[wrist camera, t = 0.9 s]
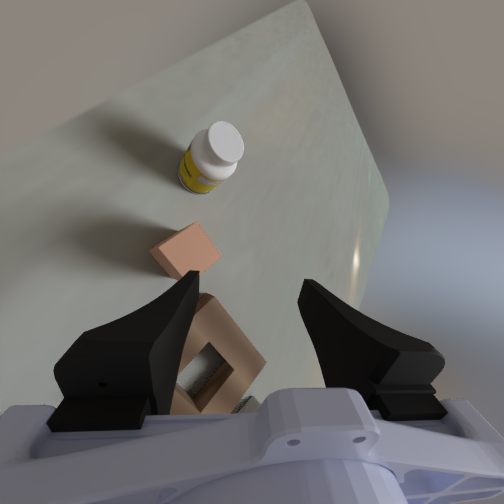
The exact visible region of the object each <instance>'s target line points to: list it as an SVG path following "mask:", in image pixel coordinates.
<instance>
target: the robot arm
mask: <svg viewBox="0 0 504 504" xmlns="http://www.w3.org/2000/svg"><path fill="white" fill-rule="evenodd" d="M199 273H200V271H196V270H189V271H188V272H187V273H186V274H185V275H184V276H183V277H182V278H181V279H180V280H179V281H178V282H176V283H175V284H174V285H173V286H172V287H171V288H170V289H168V290H167V291H166V292H164V293H163V294H162V295H161V296H159V297H158V298H156V299H155V300H153V301H152V302H150V303H149V304H147V305H145V306H143V307H141V308H140V309H138V310H136V311H134V312H132V313H130V314H128V315H126V316H124V317H122V318H119V319H117V320H115V321H112V322H110V323H107V324H105V325H102V326H99V327H97V328H94V329H91V330H88V331H85V332H84V333H83V334H82V335H81V336H80V337H79V338H78V339H77V340H76V341H75V342H74V343H73V344H72V346H71V347H70V348H69V349H68V350H67V351H66V353H65V354H64V355H63V356H62V357H61V358H60V360H59V361H58V362H57V363H56V364H55V367H54V370H53V371H54V376H55V379H56V381H57V383H58V385H59V388H60V390H61V392H62V394H63V396H64V399H63V400H62V402H61V403H60V405H59V406H58V407H57V409H56V408H55V407H53V406H50V405H14V406H11V407H9V408H8V409H7V410H6V411H5V413H4V414H3V415H2V416H1V417H0V504H454V503H460V502H466V501H473V500H482V499H489V498H493V497H495V496H497V495H499V494H501V493H503V492H504V438H503V437H502V436H501V435H500V434H499V433H498V432H497V431H496V430H495V429H494V428H493V427H492V426H491V425H490V424H489V423H488V422H487V421H486V420H485V419H484V418H483V416H482V415H481V414H480V413H479V412H478V411H477V410H476V409H475V408H474V407H473V406H472V405H471V404H470V403H469V402H468V401H467V400H466V399H443V400H441V401H438V400H437V398H436V397H435V396H434V395H433V394H435V393H436V390H435V389H434V388H433V387H432V385H431V384H430V383H431V382H432V381H433V380H434V379H435V378H436V377H437V375H438V374H439V373H440V372H441V371H442V369H443V368H444V365H445V359H444V357H443V355H442V354H440V353H439V352H438V351H437V350H436V349H435V348H434V347H433V346H432V345H431V344H430V343H428V342H425V341H422V340H420V339H417V338H414V337H412V336H409V335H406V334H404V333H401V332H399V331H397V330H394V329H392V328H390V327H387V326H385V325H383V324H381V323H379V322H377V321H375V320H373V319H371V318H369V317H368V316H366V315H364V314H362V313H361V312H359V311H357V310H355V309H354V308H352V307H351V306H349V305H348V304H346V303H345V302H343V301H342V300H340V299H339V298H338V297H336V296H335V295H334V294H332V293H331V292H329V291H328V290H327V289H326V288H324V287H323V286H322V285H320V284H319V283H317V282H316V281H314V280H313V279H304V282H303V285H302V288H301V292H300V295H299V298H298V301H297V302H298V307H299V310H300V314H301V317H302V319H303V322H304V324H305V326H306V329H307V331H308V333H309V336H310V338H311V340H312V343H313V345H314V348H315V351H316V354H317V357H318V360H319V364H320V367H321V371H322V374H323V378H324V382H325V386H326V388H288V389H282V390H277V391H275V392H273V393H271V394H269V395H268V396H267V397H266V399H265V400H264V401H263V403H262V404H261V406H260V410H259V413H236V414H193V415H170V410H171V404H172V399H173V395H174V390H175V385H176V380H177V376H178V371H179V366H180V362H181V358H182V353H183V349H184V345H185V341H186V338H187V335H188V332H189V329H190V326H191V323H192V320H193V317H194V314H195V311H196V307H197V303H198V298H199Z"/></svg>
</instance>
